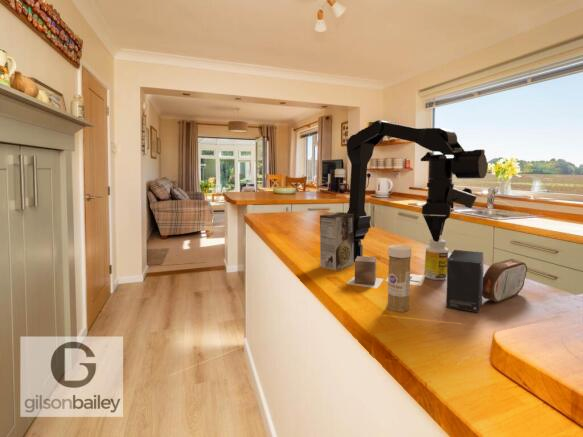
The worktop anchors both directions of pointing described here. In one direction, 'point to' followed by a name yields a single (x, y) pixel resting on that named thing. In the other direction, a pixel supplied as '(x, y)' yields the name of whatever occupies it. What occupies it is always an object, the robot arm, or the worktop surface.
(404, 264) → the sprinkles bottle
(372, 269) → the walnut block
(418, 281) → the label tile
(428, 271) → the supplement bottle
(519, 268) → the tin
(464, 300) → the small box
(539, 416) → the worktop surface
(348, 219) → the coffee box
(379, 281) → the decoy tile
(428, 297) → the worktop surface
